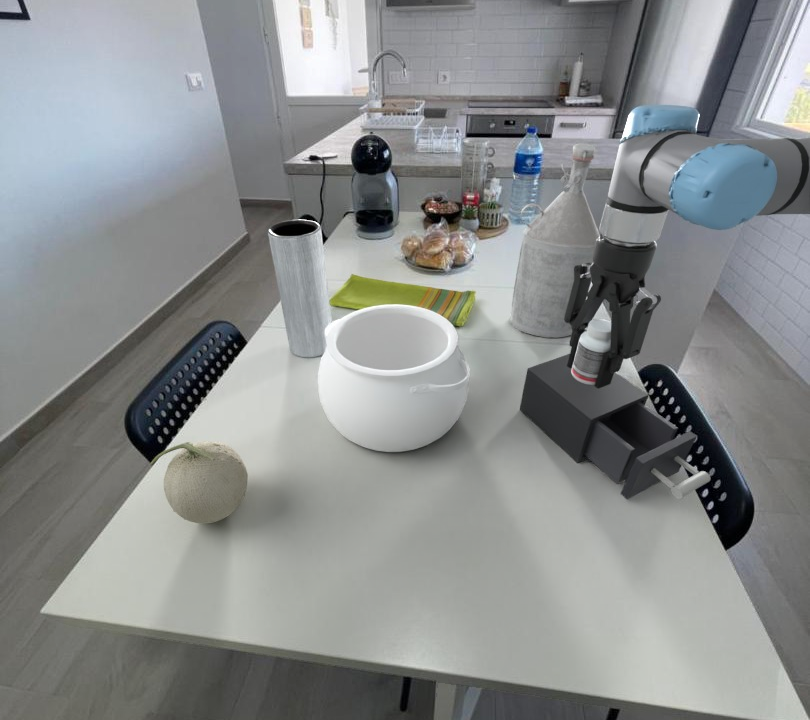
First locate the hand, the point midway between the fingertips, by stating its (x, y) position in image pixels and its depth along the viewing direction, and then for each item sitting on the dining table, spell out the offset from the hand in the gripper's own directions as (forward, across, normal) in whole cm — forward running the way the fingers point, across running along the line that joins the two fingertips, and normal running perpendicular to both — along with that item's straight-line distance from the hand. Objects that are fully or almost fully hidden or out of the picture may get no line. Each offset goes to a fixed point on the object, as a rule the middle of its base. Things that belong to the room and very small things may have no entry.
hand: (588, 374), depth 73 cm
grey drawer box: (+11, 0, 0) cm, 11 cm away
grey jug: (+11, +29, -18) cm, 36 cm away
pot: (+11, +18, +27) cm, 34 cm away
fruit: (+11, +11, +60) cm, 62 cm away
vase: (+11, +46, +34) cm, 58 cm away
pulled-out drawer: (+10, -12, 0) cm, 16 cm away
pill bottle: (+1, 0, 0) cm, 1 cm away
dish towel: (+11, +54, +7) cm, 56 cm away
